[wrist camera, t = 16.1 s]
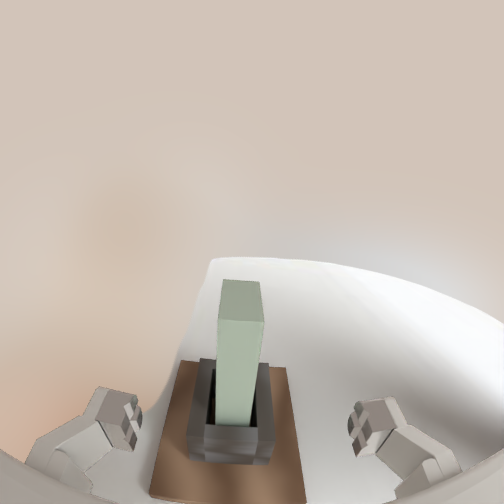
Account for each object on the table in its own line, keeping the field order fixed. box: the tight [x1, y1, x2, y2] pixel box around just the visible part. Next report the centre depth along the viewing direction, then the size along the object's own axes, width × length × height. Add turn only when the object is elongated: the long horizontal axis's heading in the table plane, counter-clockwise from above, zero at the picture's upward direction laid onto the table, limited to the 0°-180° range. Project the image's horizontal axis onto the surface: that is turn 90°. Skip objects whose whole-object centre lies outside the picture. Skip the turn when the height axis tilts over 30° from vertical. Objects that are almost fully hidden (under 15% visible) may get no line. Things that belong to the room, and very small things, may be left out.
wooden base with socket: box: [149, 358, 307, 504], centre depth 26 cm, size 14×20×6 cm
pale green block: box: [216, 279, 264, 427], centre depth 24 cm, size 3×6×16 cm, turn 2°
